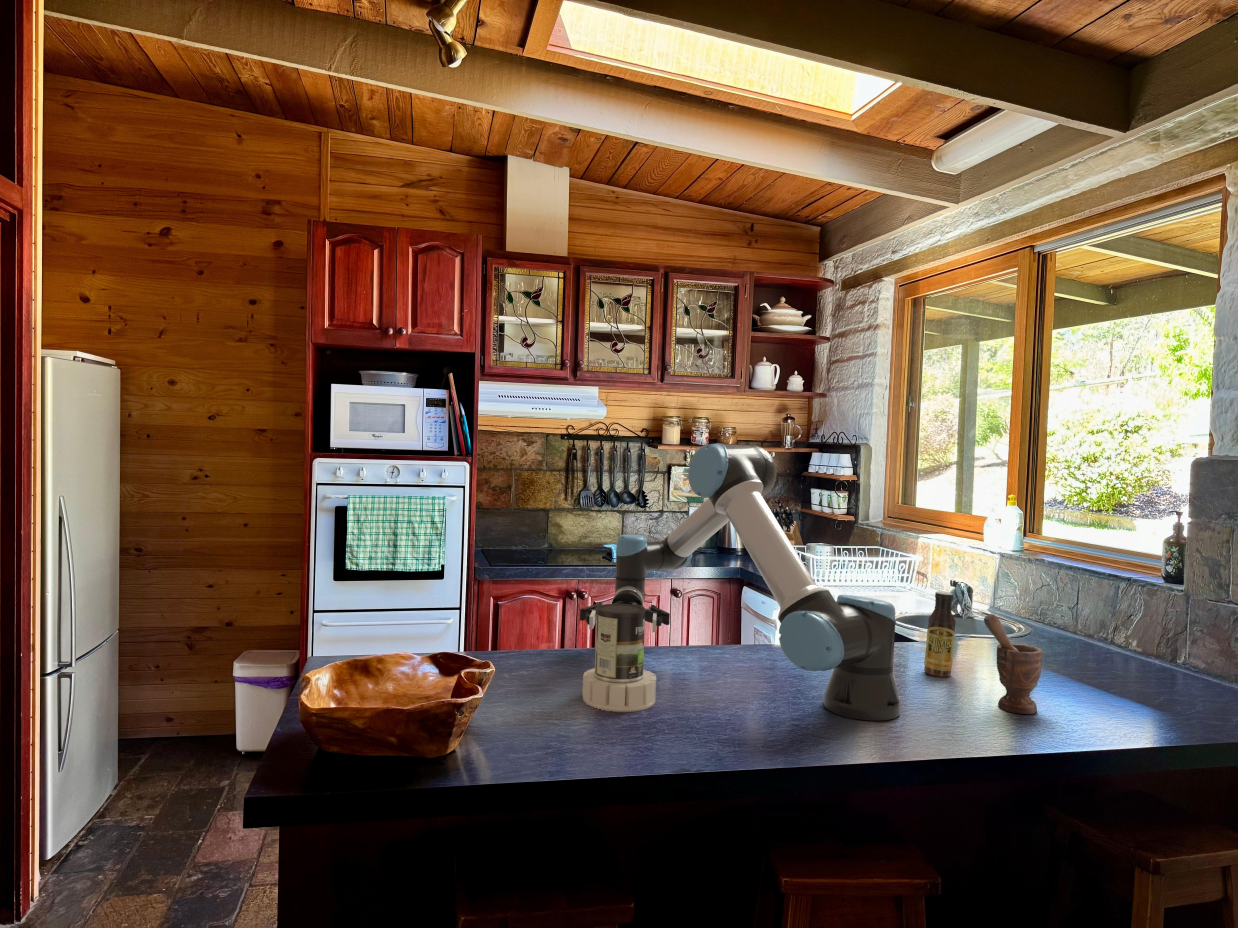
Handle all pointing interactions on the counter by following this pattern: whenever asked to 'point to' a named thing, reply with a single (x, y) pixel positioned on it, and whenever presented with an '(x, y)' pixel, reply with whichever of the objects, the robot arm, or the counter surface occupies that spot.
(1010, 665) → the mortar and pestle
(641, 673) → the coffee can
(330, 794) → the counter surface
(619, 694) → the cream cog ring
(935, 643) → the sauce bottle
